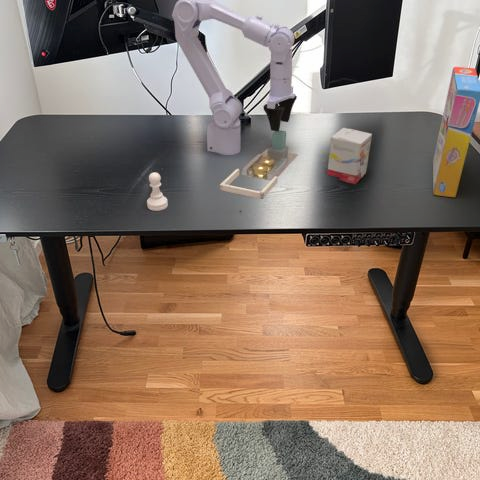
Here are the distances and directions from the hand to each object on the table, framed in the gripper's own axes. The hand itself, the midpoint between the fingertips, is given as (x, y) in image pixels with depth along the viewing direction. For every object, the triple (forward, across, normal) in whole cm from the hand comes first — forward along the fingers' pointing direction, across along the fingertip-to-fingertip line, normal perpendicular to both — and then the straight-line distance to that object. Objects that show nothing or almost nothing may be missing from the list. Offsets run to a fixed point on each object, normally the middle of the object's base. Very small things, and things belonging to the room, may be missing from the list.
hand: (279, 125), depth 146 cm
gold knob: (+9, -9, 0) cm, 13 cm away
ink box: (+11, -2, -21) cm, 23 cm away
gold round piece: (+9, -14, 0) cm, 16 cm away
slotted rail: (+10, -7, 0) cm, 12 cm away
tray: (+10, -21, 0) cm, 23 cm away
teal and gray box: (+9, 0, 0) cm, 9 cm away
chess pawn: (+10, -38, +17) cm, 43 cm away
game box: (+11, +5, -45) cm, 47 cm away
